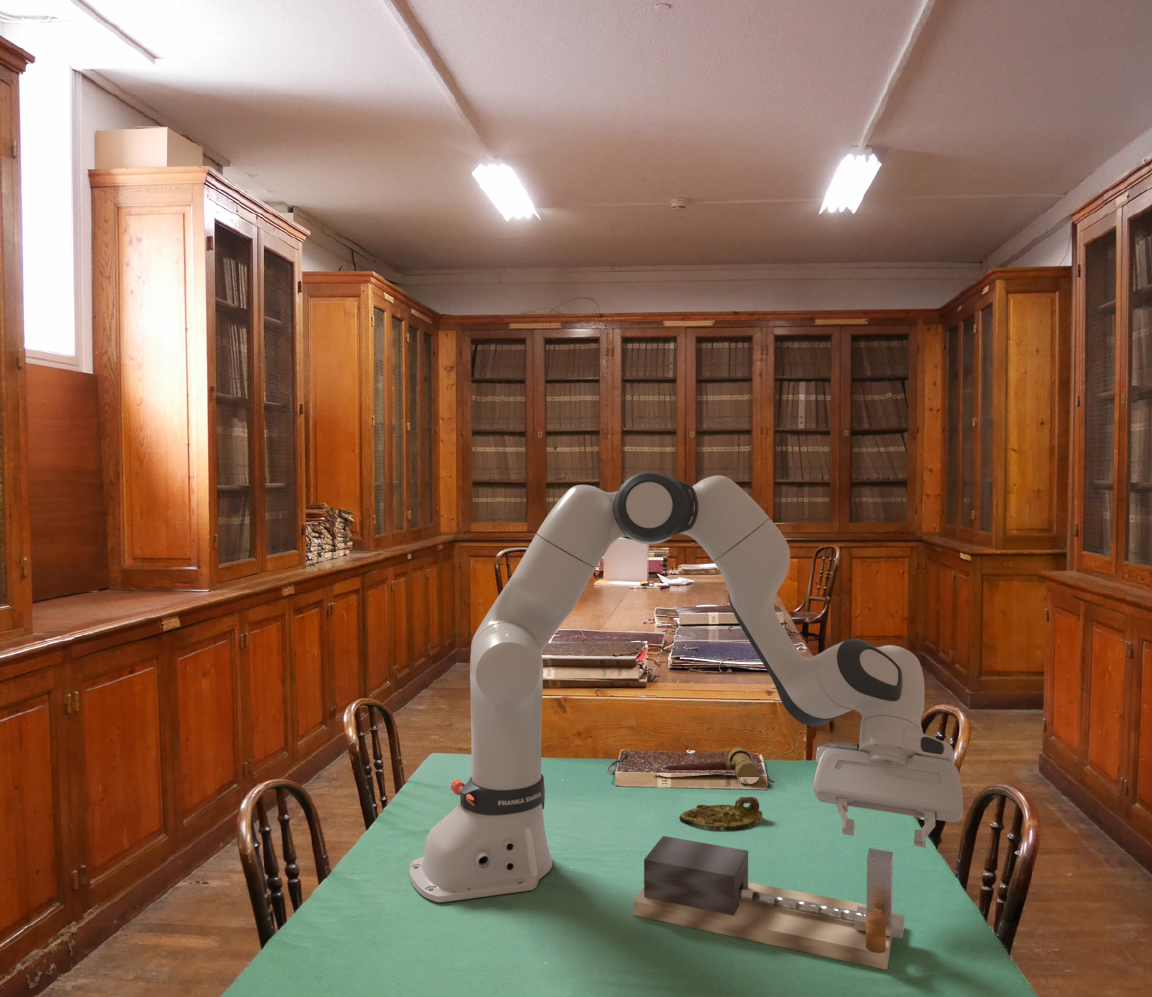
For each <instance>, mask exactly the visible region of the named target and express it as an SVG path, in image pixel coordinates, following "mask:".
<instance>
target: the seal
mask: <svg viewBox="0 0 1152 997" xmlns="http://www.w3.org/2000/svg"><path fill="white" fill-rule="evenodd" d="M745 804H749V805H748V806H744V805H745ZM763 819H764V818H763V812H762V811H761V810H760V803H759V800H758V798H757V797H755V796H744V797H743V796H740V797H738V798H737V799H736V801H735V803H734V805H732V804H715V805H707V804H698V805H696V807H694V808H691V809H688V810H685V811H683V812H682V813H681V814H680V816H679V821H681V822H683V823H685V824H686V825H689V826H690V827H691V828H695V829H699V830H705V831H713V832H717V831H718V832H728V831H730V832H731V831H739V830H745V829H749V828H752V827H754V826H757V825H759V823H761V822H762V821H763Z"/></svg>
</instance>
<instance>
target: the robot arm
mask: <svg viewBox="0 0 1152 997" xmlns="http://www.w3.org/2000/svg"><path fill="white" fill-rule="evenodd" d="M680 534H681V535H686V536H688V537H690V538H691V539H693V540H694V541H695V542H696V543H698V544H699V546H700V547H701V548H702V549H703V550H704V551H705V553H706V554H707V555H708V557H709V558H710V559H711V561H712V562H713V563H714V564H715V566H716V568H717V569H718V571H719V572H720V573H721V575H722V578H723V580H724V581H725V584H726V587H727V590H728V595H727V596H728V603H729V606H730V609H731V611H732V613H733V615H734V617H735V619H736V620H737V622H738V625H739V626H740V628H741V630H742V631H743V633H744V635H745V636H746V638H747V640H748V641H749V643H750V645H751V646H752V648H753V649H754V651H755V653H756V654H757V656H758V658H759V659H760V661H761V663H762V664H763V666H764V668H765V669H766V671H767V673H768V674H769V676H770V678H771V679H772V682H773V684H774V687H775V688H776V691H777V694H778V696H779V699H780V701H781V703H782V705H783V707H784V709H785V710H786V712H787V713H788V714H789V715H790V716H791V717H792V718H793V719H795V720H796V721H797V722H799V723H801V724H803V725H804V726H808V727H813V728H814V727H821V726H823V725H826V724H828V723H829V722H831V721H832V720H834V719H836V718H837V717H839V716H841V715H843V714H846V713H848V712H851V711H853V710H854V711H856V712H858V713H859V714H860V715H861V722H860V729H859V738H858V739H859V740H858V744H857V743H850V742H838V741H835V740H830V741H827V742H826V743H823V744H821V745H820V746H818V748H817V750H816V753H815V754H816V755H815V763H816V765H817V766H816V769H815V775H814V779H813V784H812V790H813V793H814V796H815V797H816V799H817V800H818V802H820V803H825V804H831V805H832V804H833V805H836V809H837V813H838V814H839V816H840V819H841V820H842V828H841V829H842V830H841V831H842V835H844V836H850V837H854V836H855V827H856V824H855V819H852V818H849V817H848V815H847V813H848V812H849V807H852V808H859V809H863V810H870V811H878V812H883V813H884V812H885V813H892V814H897V815H904V816H911V817H916V818H917V817H918V818H924V819H923V820H924V825H923V826H922V828H921V829H914V834H913V835H914V837H913V846H914V847H918V848H925V849H926V846H927V843H926V842H927V837H928V836H929V835H930V833H931V832H932V831H933V830H934V828H936V820H937V821H944V822H949V823H958V822H959V821H960V820H961V819H962V818H963V816H964V800H963V799H964V796H963V788H962V780H961V775H960V772H959V770H958V768H957V766H956V765H955V752H954V749H953V747H952V745H951V744H950V743H947V742H945V741H943V740H940V739H937V738H934V737H933V736H929V735H928V734H925V733H924V732H923V728H922V727H923V726H922V724H921V719H922V717H923V714H924V711H925V700H926V699H925V696H926V695H925V694H926V692H925V691H926V690H925V677H924V673H923V668H922V665H921V663H920V660H919V659H918V657H917V656H916V655H915V654H914V653H912V652H911V651H910V650H908V649H906V648H904V647H902V646H897V645H894V644H893V645H892V644H889V645H882V646H874V645H873V644H871V643H869V642H867V641H865V640H862V639H859V638H849V639H848V638H847V639H846V640H843V641H841V642H839V643H836V644H835V645H832V646H831V647H828V648H827V649H825V650H823V651H822V652H820V653H818V654H816V655H813V656H812V657H809V658H807V657H805V656H803V655H802V654H800V653H799V650H798V649H797V648H796V646H795V644H794V643H793V641H792V639H791V637H790V636H789V634H788V633H787V631H786V629H785V628H784V626H783V625H782V623H781V621H780V620H779V618H778V616H777V612H776V608H775V601H776V596H777V594H778V591H779V590H780V588H781V586H782V585H783V583H784V581H785V579H786V577H787V574H788V572H789V568H790V564H791V563H790V562H791V552H790V550H791V549H790V546H789V544H788V541H787V540H786V537H785V536H784V534H783V533H782V532H781V531H780V529H779V527H777V525H776V524H775V523H774V522H773V520H772V519H771V518H770V517H769V516H768V514H767V513H766V512H765V510H764V509H763V508H762V507H761V506H760V505H759V504H758V503H757V502H756V500H754V499H753V498H752V497H751V496H750V495H749V494H748V493H747V492H746V491H745V490H744V489H743V488H741V486H739V485H738V484H737V483H736V482H735V481H734V480H732V479H731V478H729V477H728V476H725V475H719V474H718V475H712V476H708V477H705V478H703V479H701V480H700V481H698V482H697V483H695V484H693V485H691V484H689V483H686V482H684V481H682V480H678V479H676V478H674V477H672V476H669V475H667V474H664V473H661V472H656V471H642V472H639V473H635V474H634V475H632V476H630V477H629V478H627V479H626V480H625V481H624V482H623V483H622V484H621V485H620V487H619V488H618V490H617V491H613V492H608V491H604V490H602V489H601V488H600V487H599V488H598V487H596V486H593V485H588V484H577V485H574V486H572V487H571V488H569V489H568V490H567V491H566V492H565V493H564V494H563V495H562V496H561V498H560V499H559V500H558V501H557V503H555V505H554V506H553V507H552V508H551V510H550V512H548V514H547V516H546V517H545V519H544V520H543V522H542V523H541V525H540V526H539V528H538V530H537V532H536V534H535V535H534V536H533V538H532V541H531V542H530V543H529V546H528V547H527V548H526V551H525V552H524V554H523V556H522V558H521V559H520V561H519V563H518V565H517V567H516V569H515V570H514V571H513V573H512V575H511V577H510V578H509V580H508V582H507V583H506V584H505V586H504V587H503V589H502V590H501V592H500V593H499V595H498V596H497V598H496V599H495V601H494V602H493V604H492V606H491V607H490V609H489V610H488V612H487V613H486V615H485V617H484V618H483V620H482V621H481V623H480V625H479V626H478V627H477V630H476V632H475V633H474V635H473V638H472V640H471V644H470V658H469V659H470V662H469V677H470V678H469V680H470V681H469V682H470V686H469V687H470V729H471V730H470V731H471V732H470V733H471V735H470V736H471V737H470V738H471V744H470V745H471V747H470V748H471V749H470V750H471V776H470V778H469V780H468V781H467V782H466V783H463V781H462V780H461V779H459V778H456V779H453V780H452V782H451V783H450V786H449V787H450V790H451V791H452V792H453V793H454V794H455V795H457V796H459V798H460V799H459V801H460V803H459V804H458V805H457V806H456V807H455V808H453V810H451V811H450V812H449V813H448V814H447V815H446V816H445V817H443V818H442V819H441V820H440V821H439V822H438V823H437V824H435V825H434V826H433V827H432V828H430V830H429V832H428V834H427V836H426V839H425V843H424V849H423V856H420V857H417V858H415V859H413V860H412V861H411V863H410V865H409V871H408V876H409V880H410V882H411V885H412V886H413V888H415V890H416V891H417V892H418V893H419V894H420V895H421V896H422V897H423V898H426V899H427V900H430V901H433V902H435V903H447V902H453V901H460V900H461V901H462V900H468V899H475V898H476V899H477V898H482V897H484V898H485V897H492V896H498V895H506V894H513V893H521V892H528V891H533V890H535V889H536V888H537V886H538V884H539V881H540V879H542V878H543V877H544V876H545V875H547V874H548V873H549V872H550V871H551V869H552V867H553V858H552V856H551V853H550V848H549V845H548V840H547V835H546V829H545V822H544V821H545V820H544V811H543V810H544V809H545V801H546V800H545V798H546V797H545V796H546V789H545V788H546V787H545V777H544V775H543V774H542V717H543V716H542V712H543V686H544V685H543V684H544V683H543V682H544V679H543V678H544V677H543V676H544V660H543V656H542V654H543V652H544V649H545V647H546V646H547V644H548V643H549V641H551V639H552V637H553V636H554V635H555V633H556V631H557V630H558V629H559V627H561V624H562V623H563V622H564V621H565V620H566V618H567V617H569V615H570V614H571V613H572V611H573V610H574V608H575V607H576V605H577V603H578V601H579V599H580V598H581V596H582V595H583V593H584V591H585V590H586V587H587V585H588V583H589V581H591V579H592V577H593V575H594V573H595V571H596V569H597V568H598V566H599V565H600V563H601V560H602V559H603V557H604V555H605V554H606V552H607V551H608V549H609V548H610V547H611V545H612V544H613V543H614V542H615V541H617V540H618V539H621V538H622V539H626V540H632V541H635V542H636V543H639V544H643V545H657V544H661V543H664V542H666V541H668V540H670V539H671V538H672V537H674V536H676V535H680Z"/></svg>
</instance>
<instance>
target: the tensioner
mask: <svg viewBox="0 0 1152 997" xmlns="http://www.w3.org/2000/svg"><path fill="white" fill-rule="evenodd" d="M739 889H744V890H749V891H753V892H754V891H755V892H760V893H765V894H770V895H774V896H781V897H786V898H791V899H796V900H801V901H807V902H812V903H817V904H822V905H827V906H833V907H838V908H841V909H842V908H843V909H848V910H853V911H857V907H858V906H860V907H865V908H867V903H861V902H856V901H850V900H846V899H845V900H844V899H841V898H840V899H839V898H834V897H829V896H824V895H818V894H813V893H807V892H803V891H797V890H791V889H788V888H781V887H776V886H770V885H765V884H759V883H755V882H749V850H748V849H747V850H746V849H742V848H741V849H739V848H735V847H729V846H723V845H719V844H712V843H707V842H700V841H695V840H689V839H683V838H677V837H672V836H666V835H663V836H662V837H661V838H660V839H659V840H658V841H657V843H655V845H654V846H653V848H652V849H651V850H650V851H649V853H648V854H647V855H646V857H645V858H644V859H643V888H642V889H641V891H640V892H639V893H638V894H637V895H636V898H635V899H634V900H633V916H634V917H635V916H636V917H641V918H644V919H650V920H653V921H659V922H664V923H669V924H673V925H676V926H677V925H678V926H682V927H686V928H691V929H695V930H700V931H705V932H711V933H715V934H719V935H724V936H728V937H733V938H737V939H743V940H747V941H753V942H757V943H760V944H766V945H770V946H776V947H780V948H784V949H788V950H792V951H799V952H802V953H808V954H813V955H817V956H821V957H825V958H829V959H830V958H831V959H835V960H840V961H845V962H849V963H854V964H859V965H862V966H867V967H873V968H878V969H882V970H886V971H887V970H888V967H889V961H890V955H891V948H892V942H893V937H891V936H886V918H885V916H884V915H882V909H877V908H874V909H873V912H870V913H867V914H866V931H861V930H856V929H854V922H851V921H846V920H842V919H836V918H831V917H826V916H821V915H819V914H818V915H816V914H811V913H806V912H801V911H796V910H790V909H785V908H780V907H775V906H770V905H765V904H760V903H755V902H753V901H752V902H750V901H745V900H740V899H739ZM892 913H895V909H893V908H892Z"/></svg>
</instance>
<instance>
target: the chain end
mask: <svg viewBox="0 0 1152 997" xmlns="http://www.w3.org/2000/svg"><path fill="white" fill-rule="evenodd" d="M893 866H894V852H893V851H889V850H883V849H878V848H877V849H876V848H870V847H869V848H868V852H867V856H866V904H867V908H865V907H860V906H858V907H857V911H853V910H848V909H843V908H842V909H841V908H838V907H833V906H827V905H822V904H817V903H812V902H807V901H801V900H796V899H791V898H786V897H781V896H774V895H770V894H765V893H760V892H755V891H754V892H753V891H749V890H744V889H739V899H740V900H745V901H750V902H752V901H753V902H755V903H760V904H765V905H770V906H775V907H780V908H785V909H790V910H796V911H801V912H806V913H811V914H816V915H818V914H819V915H821V916H826V917H831V918H836V919H842V920H846V921H851V922H854V929H856V930H861V931H866V914H867V913H870V912H873V909H874V908H877V909H882V915H884V916H885V918H886V936H891V937H892V938H895V939H896V938H897V939H902V940H903V938H904V930H905V920H906V919H905V916H906V914H902V913H897V912H894V913H892V909H893V903H894V902H893V896H894V895H893V894H894V889H893V888H894V887H893V886H894V883H893V882H894V871H893V870H894V867H893Z"/></svg>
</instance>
